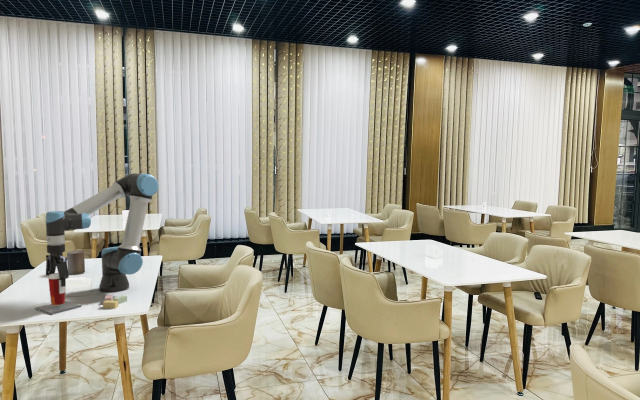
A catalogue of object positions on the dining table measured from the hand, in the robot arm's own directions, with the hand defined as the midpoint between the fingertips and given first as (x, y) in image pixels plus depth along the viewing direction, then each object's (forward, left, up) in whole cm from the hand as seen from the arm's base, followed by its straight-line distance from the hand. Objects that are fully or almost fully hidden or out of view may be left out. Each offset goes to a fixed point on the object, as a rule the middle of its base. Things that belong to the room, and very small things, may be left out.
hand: (57, 291), depth 223 cm
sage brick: (-21, +17, -8) cm, 28 cm away
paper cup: (0, 0, -6) cm, 6 cm away
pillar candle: (-46, -62, -8) cm, 78 cm away
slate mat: (0, 0, -8) cm, 8 cm away
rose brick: (-19, +11, -8) cm, 24 cm away
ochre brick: (-14, +20, -8) cm, 26 cm away
